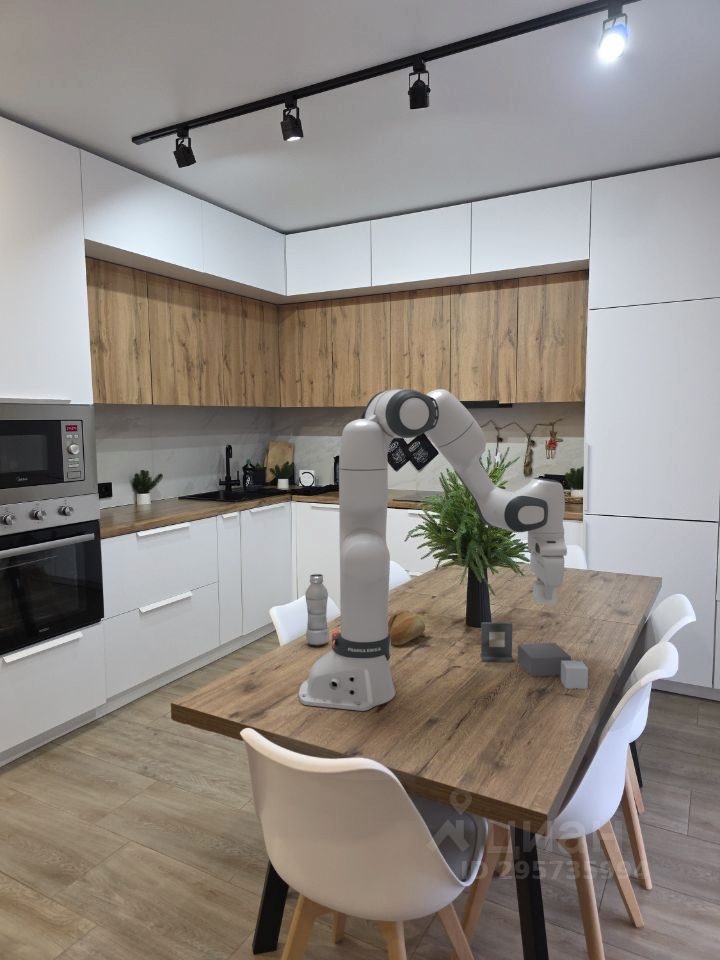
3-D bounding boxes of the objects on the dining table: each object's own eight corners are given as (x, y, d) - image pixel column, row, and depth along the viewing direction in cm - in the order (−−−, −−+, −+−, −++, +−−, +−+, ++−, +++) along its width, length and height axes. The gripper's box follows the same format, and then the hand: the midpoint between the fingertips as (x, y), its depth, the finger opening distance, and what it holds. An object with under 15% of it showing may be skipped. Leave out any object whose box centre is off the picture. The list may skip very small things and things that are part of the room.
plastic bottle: (334, 643, 187) (333, 575, 185) (316, 650, 182) (315, 579, 180) (318, 638, 191) (317, 571, 189) (301, 644, 186) (299, 575, 184)
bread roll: (378, 644, 186) (377, 617, 185) (402, 630, 199) (402, 604, 198) (408, 650, 181) (408, 622, 180) (431, 635, 194) (431, 608, 193)
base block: (531, 677, 162) (531, 658, 162) (517, 662, 172) (518, 644, 171) (570, 675, 163) (570, 656, 163) (554, 661, 173) (554, 642, 172)
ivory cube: (536, 604, 163) (537, 585, 163) (532, 599, 168) (533, 580, 168) (557, 605, 163) (557, 585, 163) (552, 599, 168) (552, 580, 168)
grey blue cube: (566, 688, 155) (566, 668, 154) (560, 680, 160) (561, 660, 159) (587, 689, 155) (588, 668, 154) (581, 680, 160) (581, 660, 159)
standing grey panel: (482, 661, 172) (482, 625, 171) (480, 656, 176) (480, 620, 175) (512, 661, 172) (513, 625, 171) (510, 656, 176) (510, 620, 175)
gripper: (524, 534, 175) (524, 585, 176) (541, 550, 154) (541, 607, 156) (548, 534, 174) (547, 585, 176) (569, 550, 154) (567, 607, 155)
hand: (544, 595), depth 166 cm, fingers closed on ivory cube, 5 cm apart
